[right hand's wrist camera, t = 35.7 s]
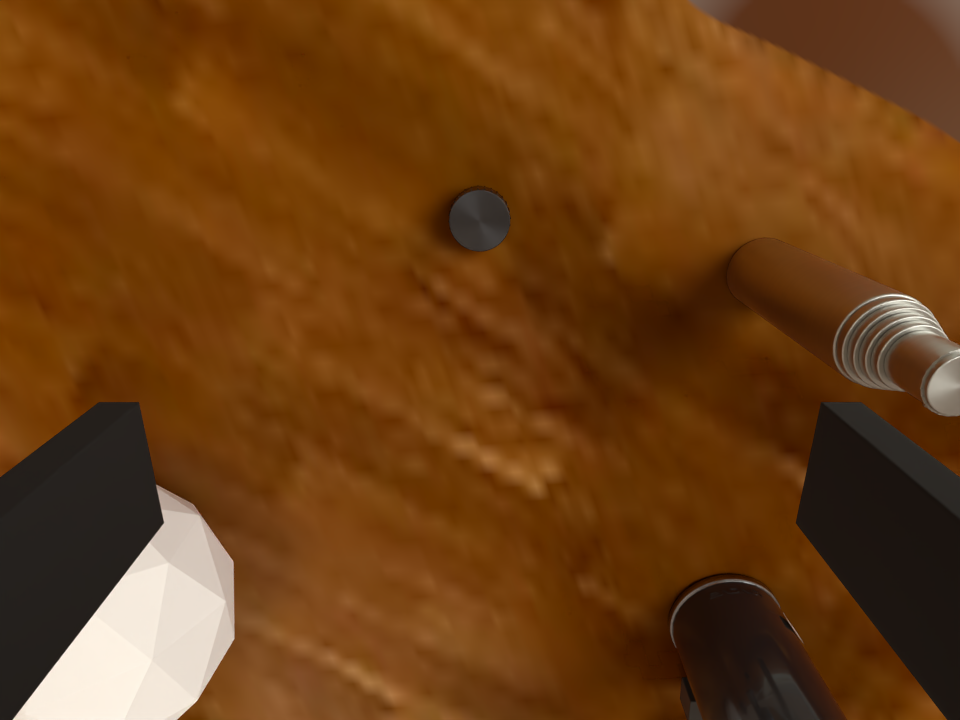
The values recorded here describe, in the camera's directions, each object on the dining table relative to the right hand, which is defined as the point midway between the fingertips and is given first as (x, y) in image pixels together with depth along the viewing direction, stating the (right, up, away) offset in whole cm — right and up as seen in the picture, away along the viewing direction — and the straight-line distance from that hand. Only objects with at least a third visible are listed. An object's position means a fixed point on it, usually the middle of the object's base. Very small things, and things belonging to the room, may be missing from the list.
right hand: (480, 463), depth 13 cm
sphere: (-27, -12, +40) cm, 50 cm away
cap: (0, +11, +29) cm, 31 cm away
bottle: (+20, +8, +32) cm, 38 cm away
